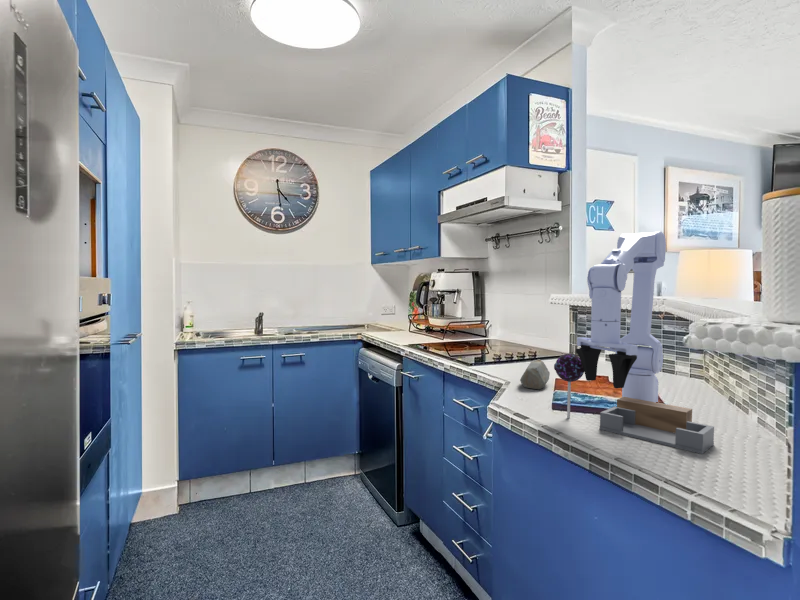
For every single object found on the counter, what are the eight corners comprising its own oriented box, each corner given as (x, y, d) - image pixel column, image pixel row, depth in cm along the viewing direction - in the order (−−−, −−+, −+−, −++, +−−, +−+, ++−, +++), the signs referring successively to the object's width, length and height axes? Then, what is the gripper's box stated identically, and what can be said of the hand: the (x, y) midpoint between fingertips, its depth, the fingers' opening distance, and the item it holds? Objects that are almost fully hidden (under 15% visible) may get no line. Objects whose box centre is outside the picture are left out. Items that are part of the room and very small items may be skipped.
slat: (623, 417, 108) (623, 396, 108) (691, 432, 98) (692, 408, 97) (616, 421, 105) (616, 399, 105) (685, 436, 95) (686, 412, 95)
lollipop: (547, 417, 106) (548, 353, 106) (561, 412, 111) (562, 350, 111) (576, 424, 102) (577, 357, 101) (589, 418, 106) (590, 353, 106)
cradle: (614, 422, 103) (614, 406, 103) (713, 444, 89) (714, 426, 89) (599, 429, 98) (599, 412, 98) (702, 453, 84) (702, 434, 84)
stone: (545, 391, 133) (546, 364, 133) (517, 388, 137) (517, 362, 136) (551, 383, 144) (552, 358, 144) (525, 380, 148) (526, 356, 147)
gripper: (566, 318, 103) (565, 378, 103) (619, 324, 89) (617, 393, 90) (591, 317, 105) (589, 376, 106) (645, 323, 92) (644, 390, 92)
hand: (604, 383), depth 98 cm, fingers open, 7 cm apart
